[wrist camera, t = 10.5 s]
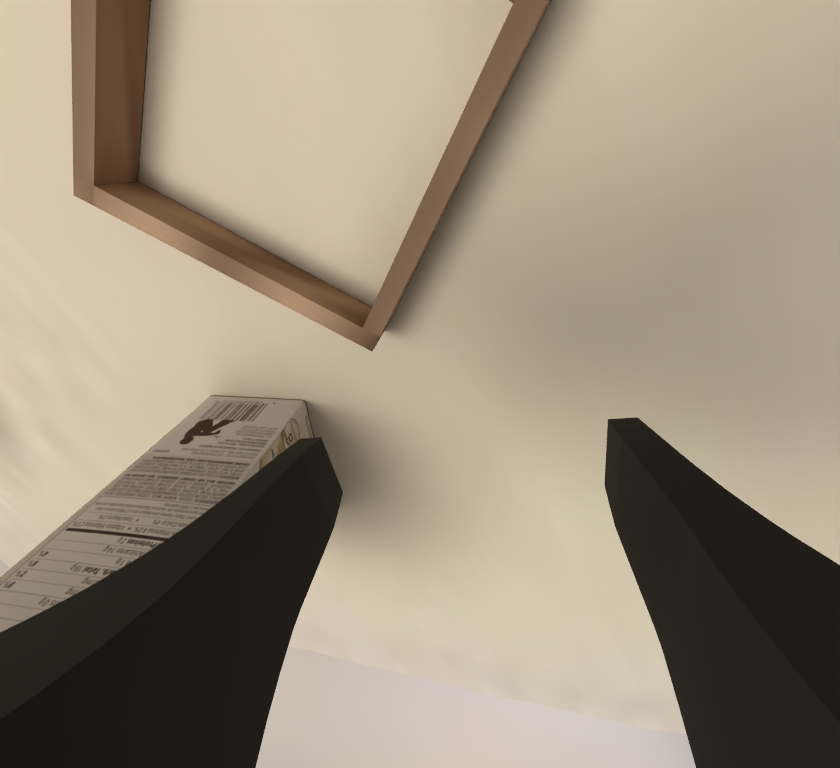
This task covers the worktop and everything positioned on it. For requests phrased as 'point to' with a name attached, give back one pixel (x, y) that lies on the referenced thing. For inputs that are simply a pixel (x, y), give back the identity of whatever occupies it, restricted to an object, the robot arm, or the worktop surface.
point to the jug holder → (210, 243)
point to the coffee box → (154, 499)
